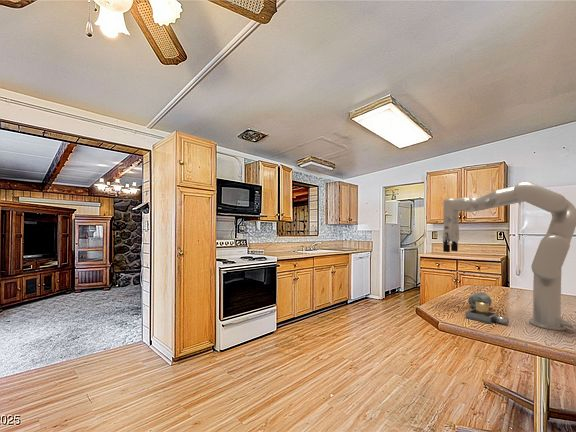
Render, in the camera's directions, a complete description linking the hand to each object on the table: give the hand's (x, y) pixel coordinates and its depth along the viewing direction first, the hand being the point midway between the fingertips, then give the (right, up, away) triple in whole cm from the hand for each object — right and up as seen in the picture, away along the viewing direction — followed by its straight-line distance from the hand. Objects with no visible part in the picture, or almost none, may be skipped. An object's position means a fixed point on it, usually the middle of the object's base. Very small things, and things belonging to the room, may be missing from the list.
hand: (450, 251), depth 163 cm
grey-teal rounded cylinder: (+15, -31, -3) cm, 34 cm away
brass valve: (+3, -29, -22) cm, 36 cm away
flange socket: (+5, -30, -24) cm, 39 cm away
